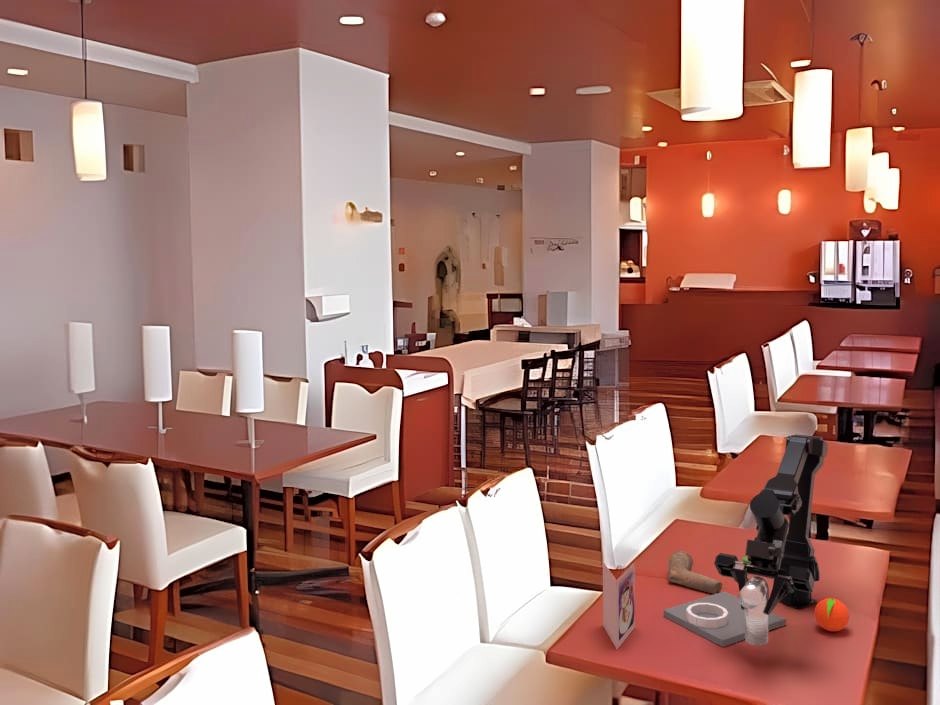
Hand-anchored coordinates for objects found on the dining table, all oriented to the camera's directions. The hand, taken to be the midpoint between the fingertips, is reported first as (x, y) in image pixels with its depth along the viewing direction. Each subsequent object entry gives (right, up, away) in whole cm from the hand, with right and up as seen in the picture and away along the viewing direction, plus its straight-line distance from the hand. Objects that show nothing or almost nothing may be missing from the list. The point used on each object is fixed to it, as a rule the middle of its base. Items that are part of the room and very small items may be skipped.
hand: (754, 611), depth 172 cm
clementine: (+21, -9, +15) cm, 28 cm away
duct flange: (0, -8, +21) cm, 23 cm away
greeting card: (-25, -10, +16) cm, 32 cm away
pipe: (-1, -6, +43) cm, 44 cm away
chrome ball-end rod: (0, -7, 0) cm, 7 cm away
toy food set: (+20, -5, +51) cm, 55 cm away
